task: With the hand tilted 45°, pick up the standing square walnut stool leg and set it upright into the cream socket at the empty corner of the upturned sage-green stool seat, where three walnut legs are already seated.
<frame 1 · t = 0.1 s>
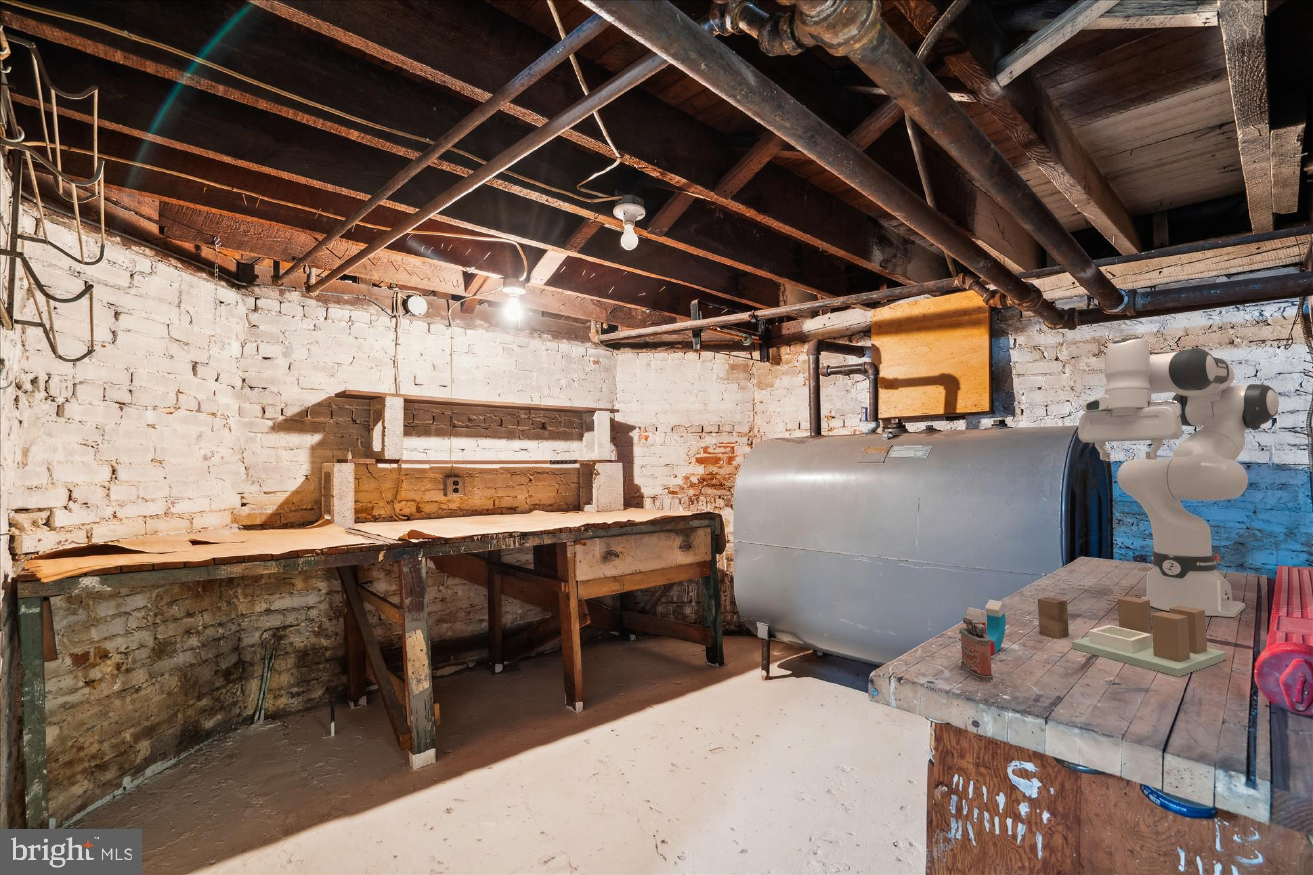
hand: (1127, 459, 138), 39 cm above the table, tool pointing down, fingers open, 8 cm apart
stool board: (1146, 653, 116), on the table
lighter: (976, 673, 109), on the table
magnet: (987, 653, 119), on the table
leg: (1054, 635, 129), on the table
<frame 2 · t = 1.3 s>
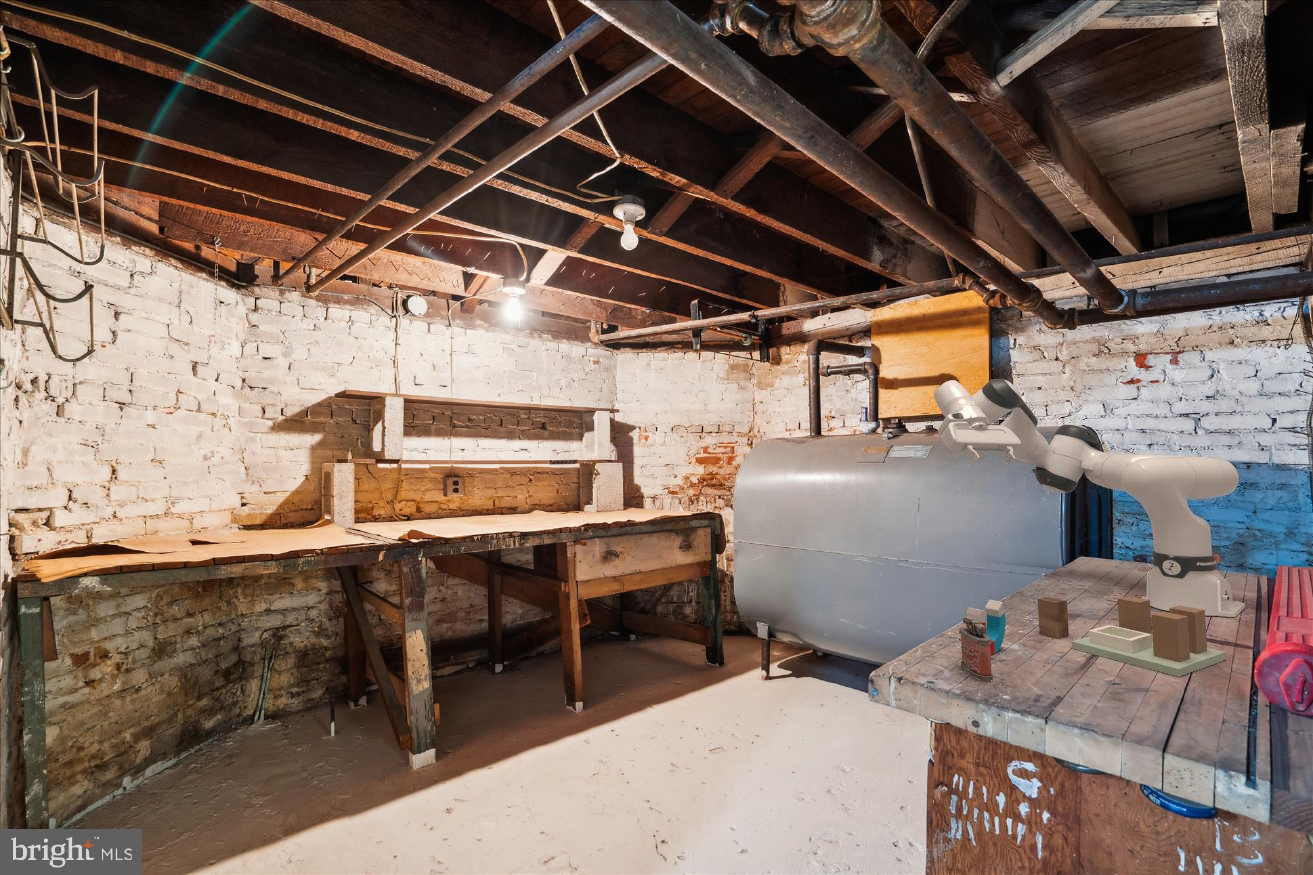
hand: (995, 460, 149), 39 cm above the table, tool tilted 45°, fingers open, 8 cm apart
nothing on the table moved.
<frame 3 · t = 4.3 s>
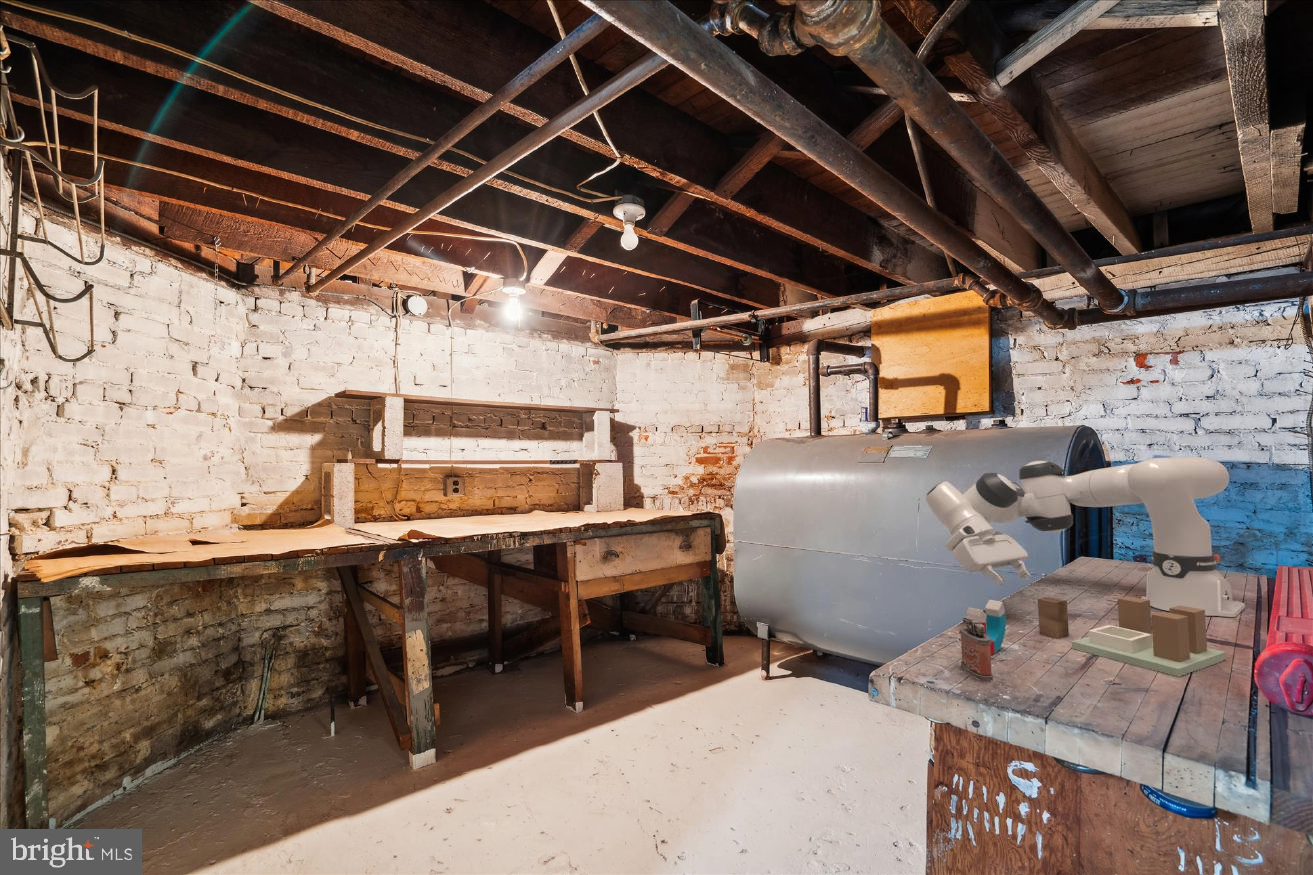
hand: (1014, 580, 137), 11 cm above the table, tool tilted 45°, fingers open, 8 cm apart
nothing on the table moved.
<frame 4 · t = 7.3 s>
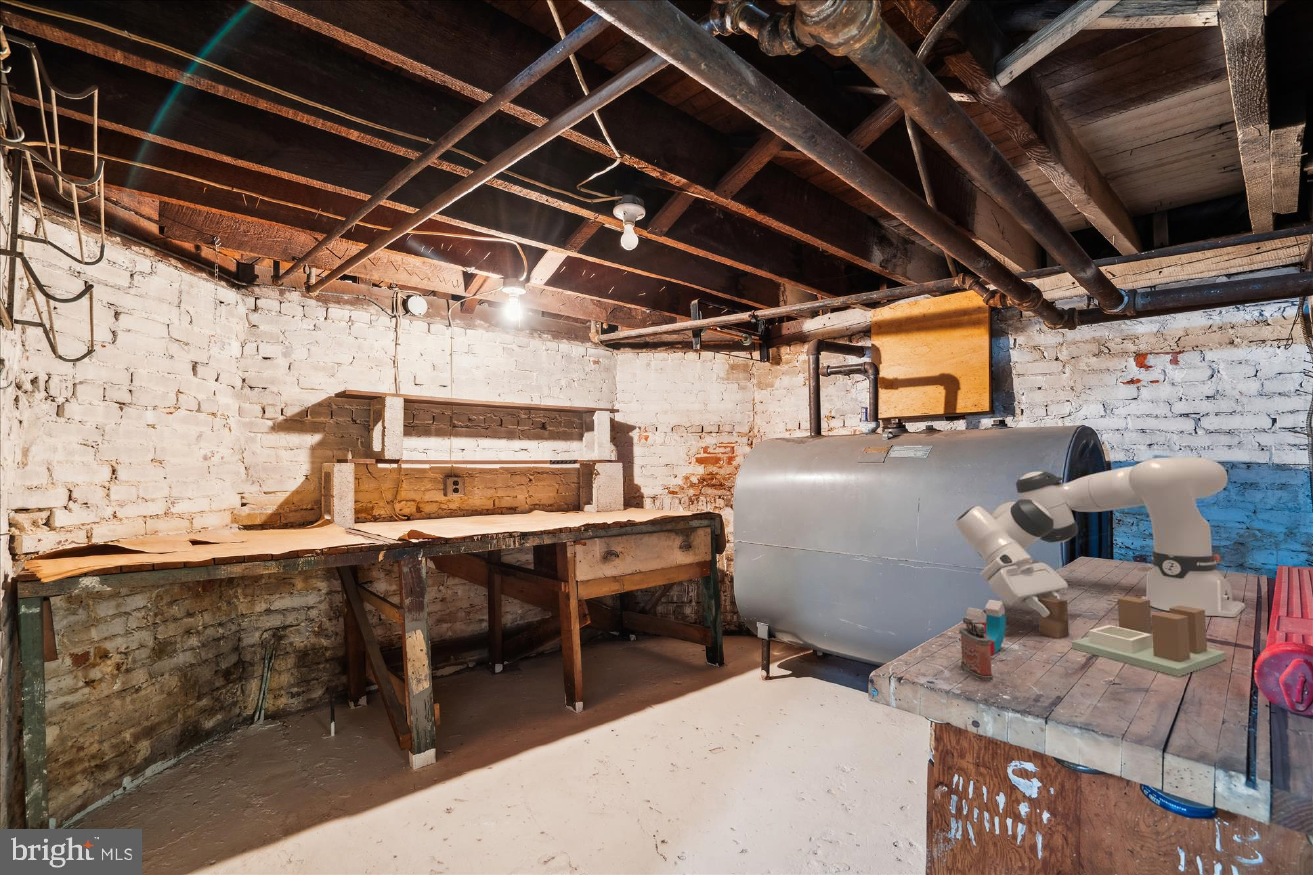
hand: (1055, 613, 129), 5 cm above the table, tool tilted 45°, fingers closed on leg, 4 cm apart
leg: (1054, 635, 129), on the table, touching gripper
everything else where it was.
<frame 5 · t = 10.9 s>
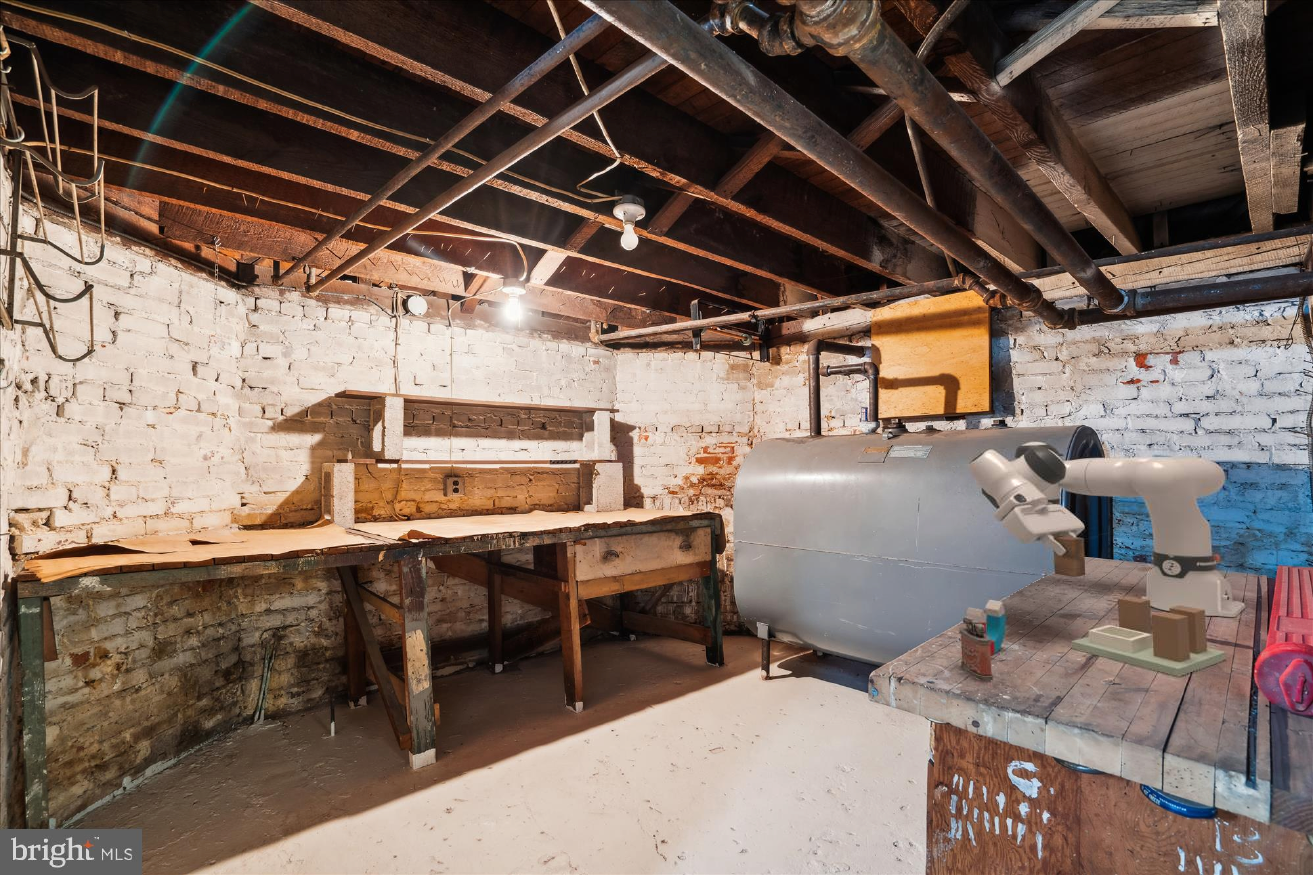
hand: (1072, 552, 125), 19 cm above the table, tool tilted 45°, fingers closed on leg, 4 cm apart
leg: (1069, 574, 126), point 14 cm above the table, touching gripper
everything else where it was.
when the fingers open (7 cm above the table, at t = 14.8 s): leg stays where it is, resting on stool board.
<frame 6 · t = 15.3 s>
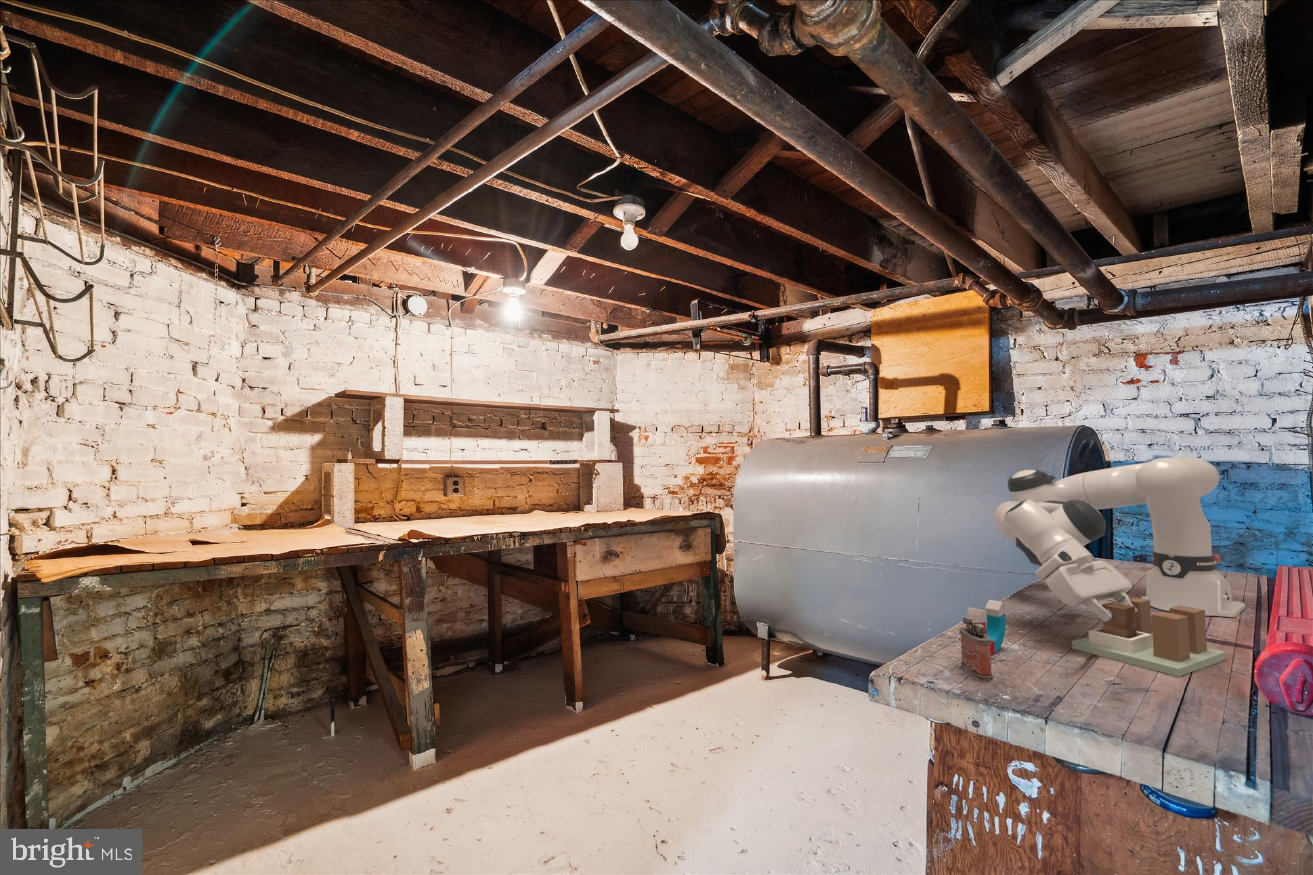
hand: (1122, 616, 117), 7 cm above the table, tool tilted 45°, fingers open, 7 cm apart
leg: (1120, 644, 118), point 1 cm above the table, touching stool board
everything else where it was.
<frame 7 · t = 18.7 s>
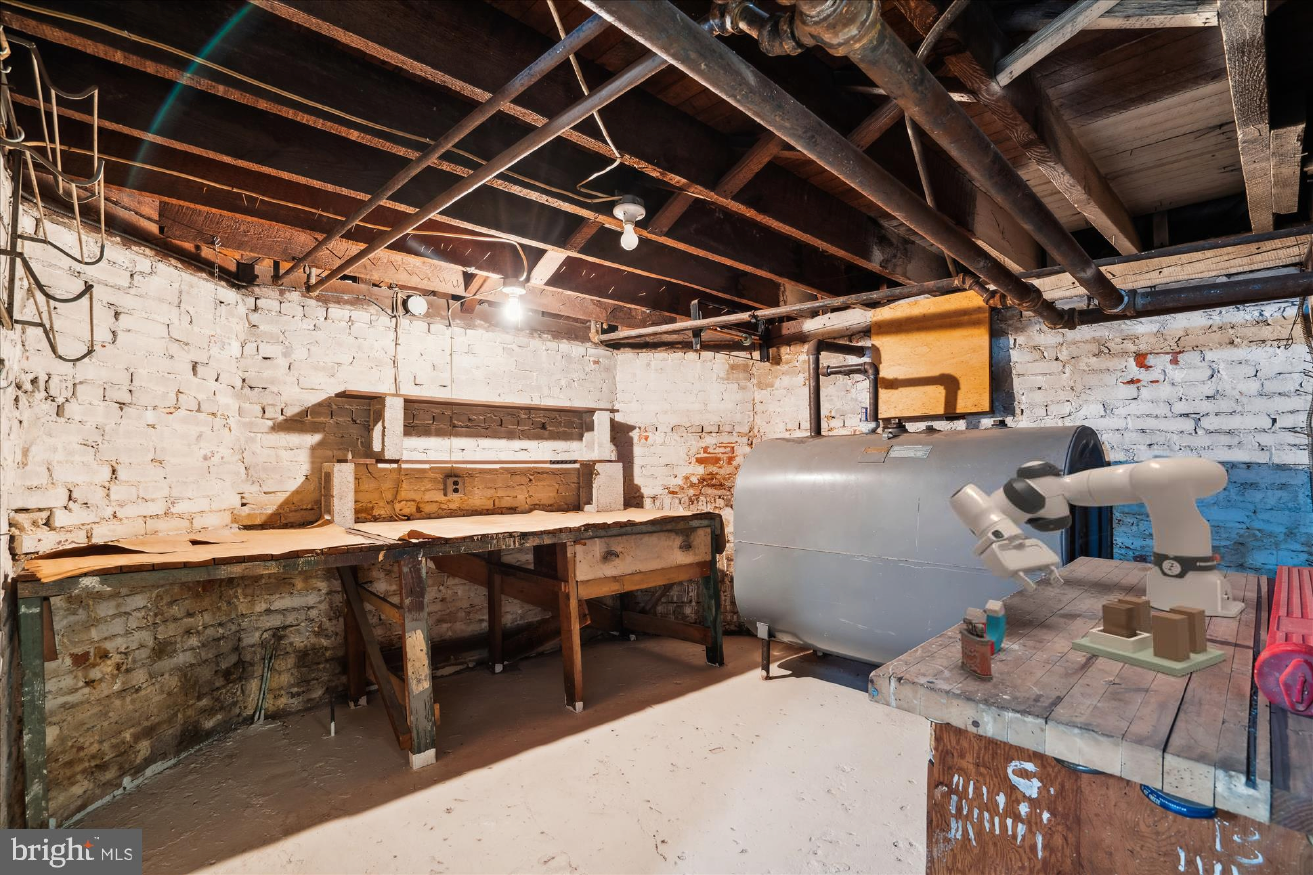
hand: (1047, 587, 130), 11 cm above the table, tool tilted 45°, fingers open, 8 cm apart
nothing on the table moved.
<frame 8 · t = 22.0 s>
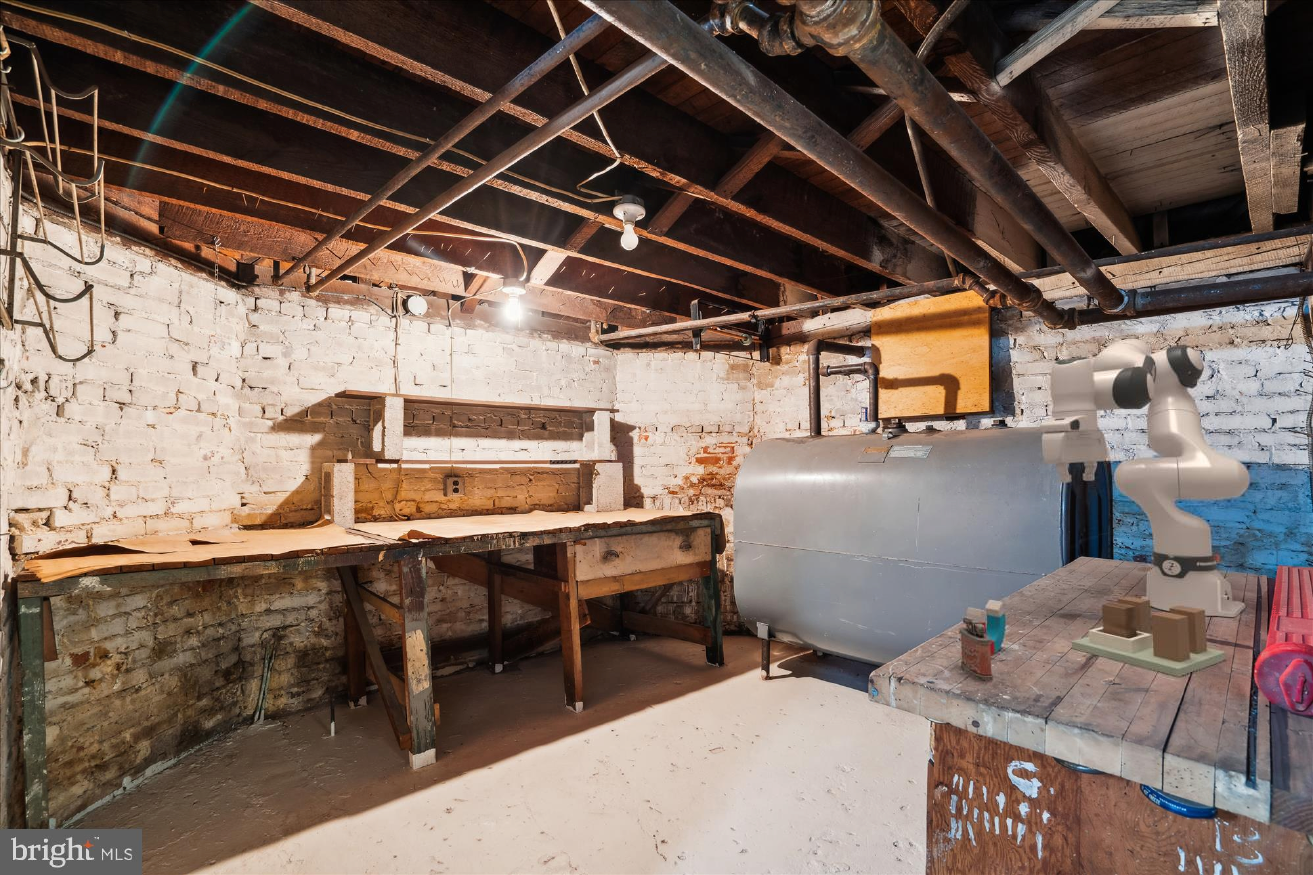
hand: (1077, 481, 137), 34 cm above the table, tool pointing down, fingers open, 8 cm apart
nothing on the table moved.
at the end: leg 0.1 cm from the target spot on the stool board, point 1.5 cm above the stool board's base; leg tilted 0°; the gripper is holding nothing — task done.
